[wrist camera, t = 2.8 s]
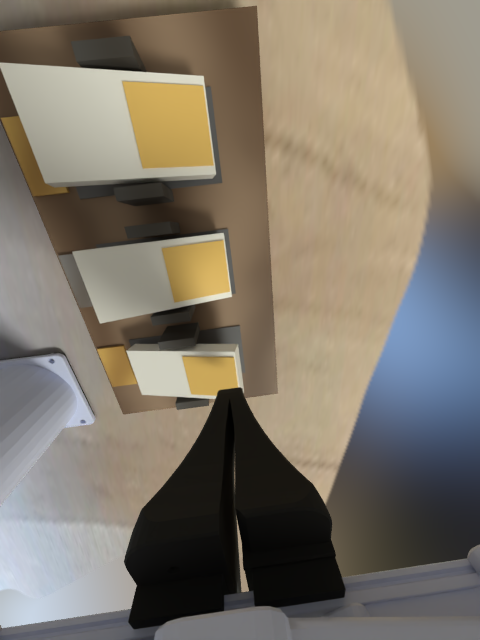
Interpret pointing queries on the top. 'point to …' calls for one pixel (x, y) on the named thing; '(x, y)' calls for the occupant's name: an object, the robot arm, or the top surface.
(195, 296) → the rocker middle
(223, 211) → the switch panel
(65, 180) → the rocker near
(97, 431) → the top surface
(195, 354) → the block
